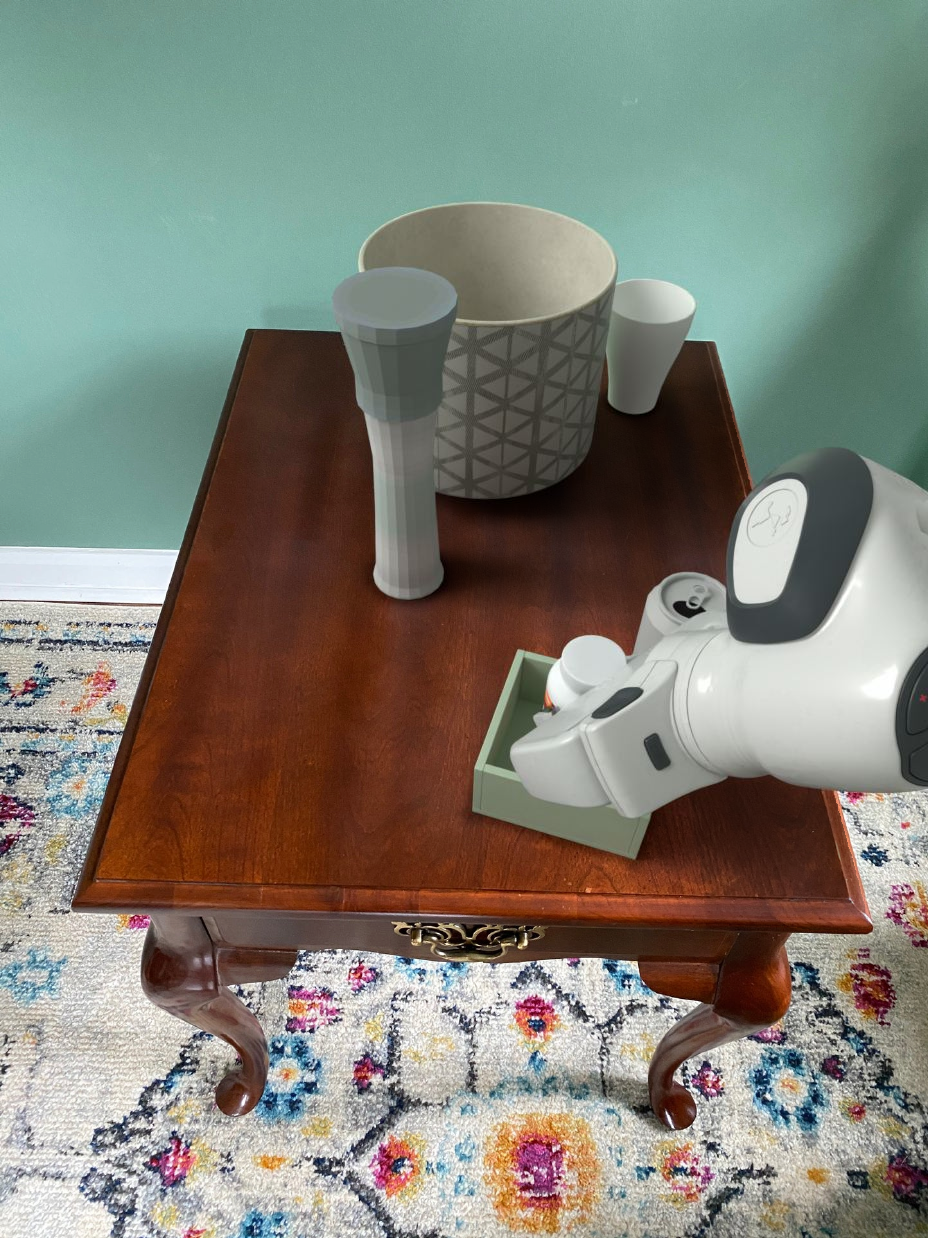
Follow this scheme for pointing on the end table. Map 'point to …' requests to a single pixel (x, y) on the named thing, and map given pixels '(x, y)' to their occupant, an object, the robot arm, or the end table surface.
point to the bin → (504, 790)
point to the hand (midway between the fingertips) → (579, 695)
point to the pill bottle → (582, 669)
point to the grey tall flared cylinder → (400, 410)
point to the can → (677, 605)
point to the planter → (510, 339)
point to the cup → (645, 340)
